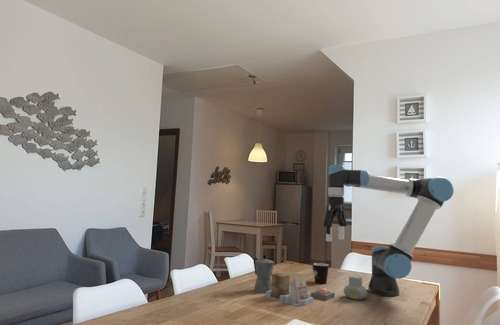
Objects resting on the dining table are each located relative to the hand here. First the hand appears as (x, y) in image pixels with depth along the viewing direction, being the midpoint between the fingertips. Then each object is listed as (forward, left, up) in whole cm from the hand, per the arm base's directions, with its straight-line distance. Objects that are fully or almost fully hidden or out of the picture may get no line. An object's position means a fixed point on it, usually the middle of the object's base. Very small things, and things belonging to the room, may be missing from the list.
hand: (335, 240), depth 177 cm
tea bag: (+6, +23, -26) cm, 35 cm away
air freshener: (-8, -6, -27) cm, 29 cm away
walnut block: (+16, +23, -26) cm, 38 cm away
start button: (+2, +8, -26) cm, 27 cm away
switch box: (+2, +8, -27) cm, 28 cm away
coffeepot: (+29, +19, -27) cm, 44 cm away
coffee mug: (+20, -24, -27) cm, 41 cm away
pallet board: (+11, +23, -27) cm, 37 cm away
